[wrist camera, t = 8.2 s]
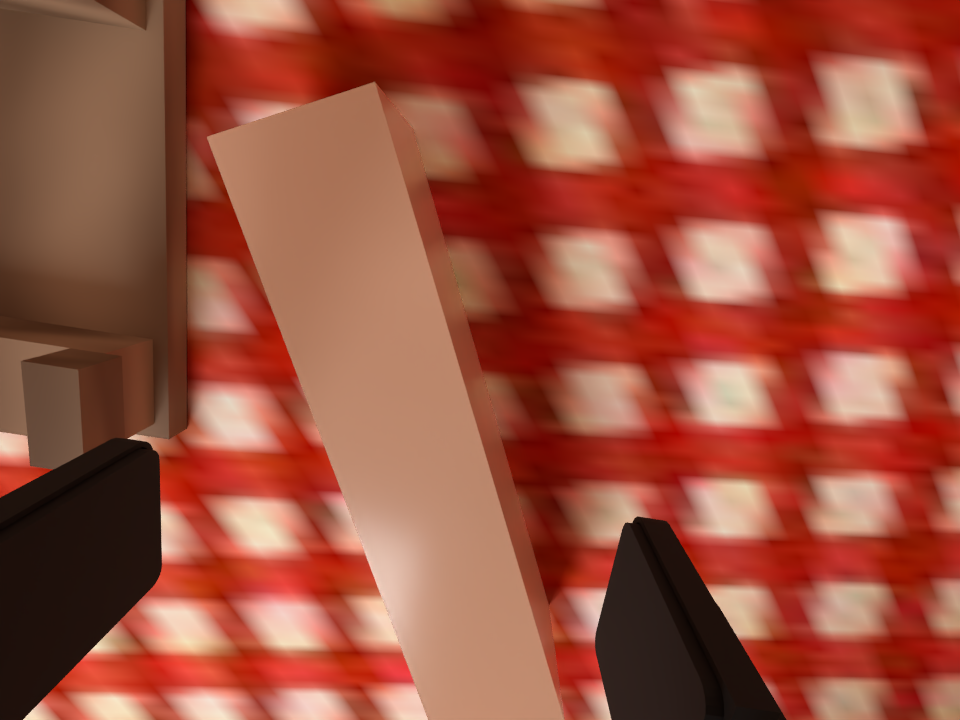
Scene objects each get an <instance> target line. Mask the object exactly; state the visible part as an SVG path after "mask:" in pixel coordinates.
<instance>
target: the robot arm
mask: <svg viewBox="0 0 960 720" xmlns="http://www.w3.org/2000/svg"><path fill="white" fill-rule="evenodd" d="M161 568H162V552H161V508H160V463H159V455H158V453H157V452H156V451H154V450H153V448H152V446H151V444H149V443H148V442H144V441H137V440H131V439H124V438H113V439H110V440H108V441H106V442H105V443H103V444H101V445H99V446H97V447H95V448H93V449H91V450H89V451H88V452H86V453H84V454H82V455H80V456H78V457H76V458H74V459H73V460H71V461H69V462H67V463H65V464H63V465H61V466H59V467H57V468H56V469H54V470H52V471H50V472H48V473H46V474H44V475H42V476H40V477H39V478H37V479H35V480H33V481H31V482H29V483H27V484H25V485H23V486H22V487H20V488H18V489H16V490H14V491H12V492H10V493H8V494H6V495H5V496H3V497H1V498H0V720H23V719H24V718H25V717H26V716H27V715H28V714H29V713H30V712H31V711H32V710H33V709H34V708H35V707H36V706H37V704H38V703H39V702H40V701H41V700H42V699H43V698H44V697H45V696H46V695H47V694H48V693H49V692H50V691H51V690H52V689H53V688H54V687H55V686H56V685H57V684H58V683H59V682H60V681H61V680H62V679H63V678H64V677H65V676H66V675H67V674H68V673H69V672H70V671H71V670H72V669H73V668H74V667H75V666H76V665H77V664H78V663H79V662H80V661H81V660H82V658H83V657H84V656H85V655H86V654H87V653H88V652H89V651H90V650H91V649H92V648H93V647H94V646H95V645H96V644H97V643H98V642H99V641H100V640H101V639H102V638H103V637H104V636H105V635H106V634H107V633H108V632H109V631H110V630H111V629H112V628H113V627H114V626H115V625H116V624H117V623H118V622H119V621H120V620H121V619H122V618H123V617H124V616H125V615H126V613H127V612H128V611H129V610H130V609H131V608H132V607H133V606H134V605H135V604H136V603H137V602H138V601H139V600H140V599H141V598H142V597H143V596H144V595H145V594H146V593H147V592H148V591H149V590H150V589H151V588H152V587H153V586H154V584H155V583H156V581H157V580H158V578H159V575H160V572H161ZM595 648H596V655H597V659H598V664H599V668H600V672H601V676H602V681H603V685H604V689H605V693H606V697H607V702H608V706H609V710H610V714H611V719H612V720H786V718H785V717H784V715H783V713H782V712H781V710H780V708H779V707H778V705H777V703H776V702H775V700H774V698H773V697H772V695H771V693H770V691H769V690H768V688H767V686H766V685H765V683H764V681H763V680H762V678H761V676H760V675H759V673H758V671H757V670H756V668H755V666H754V665H753V663H752V661H751V660H750V658H749V656H748V655H747V653H746V651H745V650H744V648H743V646H742V644H741V643H740V641H739V639H738V638H737V636H736V634H735V633H734V631H733V629H732V628H731V626H730V624H729V623H728V621H727V619H726V618H725V616H724V614H723V613H722V611H721V609H720V608H719V606H718V605H717V604H716V602H715V601H714V599H713V598H712V596H711V594H710V593H709V591H708V589H707V587H706V586H705V584H704V582H703V581H702V579H701V577H700V576H699V574H698V572H697V571H696V569H695V567H694V566H693V564H692V562H691V560H690V559H689V557H688V555H687V554H686V552H685V550H684V549H683V547H682V545H681V544H680V542H679V540H678V539H677V537H676V535H675V534H674V532H673V530H672V528H671V527H670V525H669V524H668V523H667V521H663V520H656V519H650V518H643V517H636V518H635V519H634V521H633V523H625V525H624V526H623V529H622V533H621V537H620V541H619V545H618V549H617V553H616V556H615V560H614V564H613V568H612V572H611V576H610V580H609V584H608V588H607V592H606V595H605V599H604V603H603V607H602V611H601V615H600V619H599V623H598V627H597V631H596V637H595Z"/></svg>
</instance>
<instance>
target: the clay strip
mask: <svg viewBox="0 0 960 720" xmlns="http://www.w3.org/2000/svg"><path fill="white" fill-rule="evenodd" d="M207 139H208V142H209V144H210V147H211V150H212V152H213V155H214V158H215V160H216V163H217V165H218V168H219V171H220V173H221V176H222V179H223V181H224V184H225V186H226V189H227V192H228V194H229V197H230V200H231V202H232V205H233V207H234V210H235V213H236V215H237V218H238V221H239V223H240V226H241V228H242V231H243V234H244V236H245V239H246V242H247V244H248V247H249V250H250V252H251V255H252V257H253V260H254V263H255V265H256V268H257V271H258V273H259V276H260V278H261V281H262V284H263V286H264V289H265V292H266V294H267V297H268V299H269V302H270V305H271V307H272V310H273V313H274V315H275V318H276V320H277V323H278V326H279V328H280V331H281V334H282V336H283V339H284V341H285V344H286V347H287V349H288V352H289V355H290V357H291V360H292V363H293V365H294V368H295V370H296V373H297V376H298V378H299V381H300V384H301V386H302V389H303V391H304V394H305V397H306V399H307V402H308V405H309V407H310V410H311V412H312V415H313V418H314V420H315V423H316V426H317V428H318V431H319V433H320V436H321V439H322V441H323V444H324V447H325V449H326V452H327V455H328V457H329V460H330V462H331V465H332V468H333V470H334V473H335V476H336V478H337V481H338V483H339V486H340V489H341V491H342V494H343V497H344V499H345V502H346V504H347V507H348V510H349V512H350V515H351V518H352V520H353V523H354V525H355V528H356V531H357V533H358V536H359V539H360V541H361V544H362V546H363V549H364V552H365V554H366V557H367V560H368V562H369V565H370V568H371V570H372V573H373V575H374V578H375V581H376V583H377V586H378V589H379V591H380V594H381V596H382V599H383V602H384V604H385V607H386V610H387V612H388V615H389V617H390V620H391V623H392V625H393V628H394V631H395V633H396V636H397V638H398V641H399V644H400V646H401V649H402V652H403V654H404V657H405V660H406V662H407V665H408V667H409V670H410V673H411V675H412V678H413V681H414V683H415V686H416V688H417V691H418V694H419V696H420V699H421V702H422V704H423V707H424V709H425V712H426V715H427V717H428V720H564V713H563V706H562V699H561V691H560V684H559V676H558V669H557V661H556V654H555V647H554V639H553V632H552V624H551V617H550V610H549V604H548V600H547V597H546V593H545V590H544V586H543V583H542V579H541V576H540V572H539V569H538V565H537V562H536V558H535V555H534V551H533V548H532V544H531V541H530V537H529V534H528V530H527V527H526V523H525V520H524V516H523V513H522V509H521V506H520V502H519V499H518V495H517V492H516V488H515V485H514V481H513V478H512V474H511V471H510V467H509V464H508V460H507V457H506V453H505V450H504V446H503V443H502V439H501V436H500V432H499V429H498V425H497V422H496V418H495V415H494V411H493V408H492V404H491V401H490V397H489V394H488V390H487V387H486V383H485V380H484V376H483V373H482V369H481V366H480V362H479V359H478V355H477V352H476V348H475V345H474V341H473V338H472V334H471V331H470V327H469V324H468V320H467V317H466V313H465V310H464V306H463V303H462V299H461V296H460V292H459V289H458V285H457V282H456V278H455V275H454V271H453V268H452V264H451V261H450V257H449V254H448V250H447V247H446V243H445V240H444V236H443V233H442V229H441V226H440V222H439V219H438V215H437V212H436V208H435V205H434V201H433V198H432V194H431V190H430V187H429V183H428V180H427V176H426V173H425V169H424V166H423V162H422V159H421V155H420V152H419V148H418V145H417V141H416V138H415V134H414V131H413V129H412V127H411V126H410V125H409V124H408V122H407V121H406V120H405V119H404V117H403V116H402V115H401V114H400V112H399V111H398V110H397V109H396V107H395V106H394V105H393V104H392V102H391V101H390V100H389V99H388V97H387V96H386V95H385V94H384V92H383V91H382V90H381V89H380V88H379V86H378V85H377V84H376V83H375V82H373V83H370V84H367V85H364V86H361V87H357V88H354V89H351V90H348V91H345V92H342V93H339V94H336V95H333V96H330V97H327V98H324V99H321V100H318V101H315V102H312V103H309V104H306V105H303V106H300V107H296V108H293V109H290V110H287V111H284V112H281V113H278V114H275V115H272V116H269V117H266V118H263V119H260V120H257V121H254V122H251V123H248V124H245V125H242V126H238V127H235V128H232V129H229V130H226V131H223V132H220V133H217V134H214V135H211V136H208V137H207Z"/></svg>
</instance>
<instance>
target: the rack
mask: <svg viewBox="0 0 960 720" xmlns="http://www.w3.org/2000/svg"><path fill="white" fill-rule="evenodd" d="M185 429H187V279H186V0H0V432H6V433H12V434H19V435H26V436H28V446H29V457H30V466H35V467H41V468H48V469H56V468H57V467H59V466H61V465H63V464H65V463H67V462H69V461H71V460H73V459H74V458H76V457H78V456H80V455H82V454H84V453H86V452H88V451H89V450H91V449H93V448H95V447H97V446H99V445H101V444H103V443H105V442H106V441H108V440H110V439H113V438H124V439H127V438H129V437H131V436H133V435H135V434H138V435H144V436H151V437H157V438H164V439H170V438H172V437H173V436H175V435H177V434H178V433H180V432H182V431H183V430H185Z"/></svg>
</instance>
